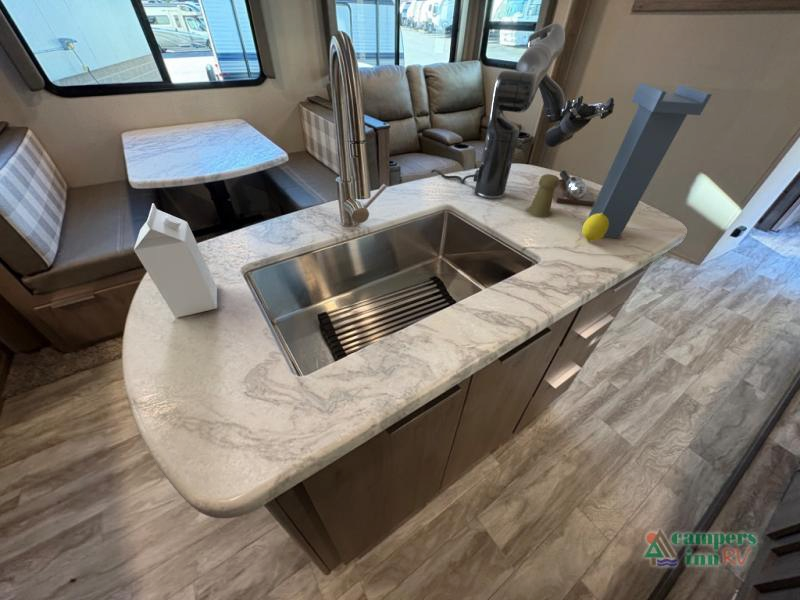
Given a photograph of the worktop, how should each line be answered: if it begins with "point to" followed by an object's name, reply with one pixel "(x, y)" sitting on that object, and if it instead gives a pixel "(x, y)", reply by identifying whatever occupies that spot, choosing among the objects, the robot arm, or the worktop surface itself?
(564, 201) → the cutting board
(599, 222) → the lemon
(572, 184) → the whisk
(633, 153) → the shelf stand
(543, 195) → the olive green pawn
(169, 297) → the milk carton
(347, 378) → the worktop surface
